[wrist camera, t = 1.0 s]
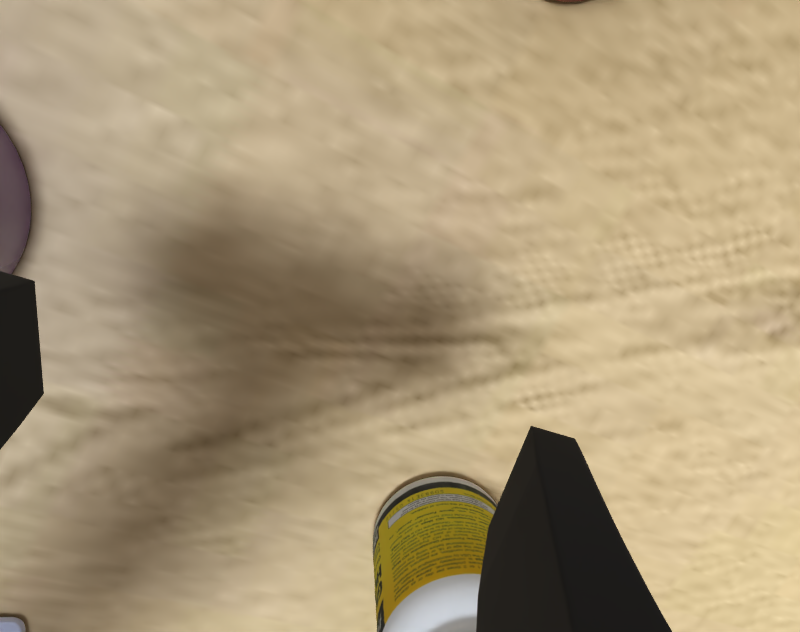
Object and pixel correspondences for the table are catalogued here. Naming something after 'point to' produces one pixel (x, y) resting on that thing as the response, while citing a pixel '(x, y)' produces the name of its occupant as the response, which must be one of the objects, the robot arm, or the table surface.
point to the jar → (12, 205)
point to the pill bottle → (431, 556)
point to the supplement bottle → (570, 0)
